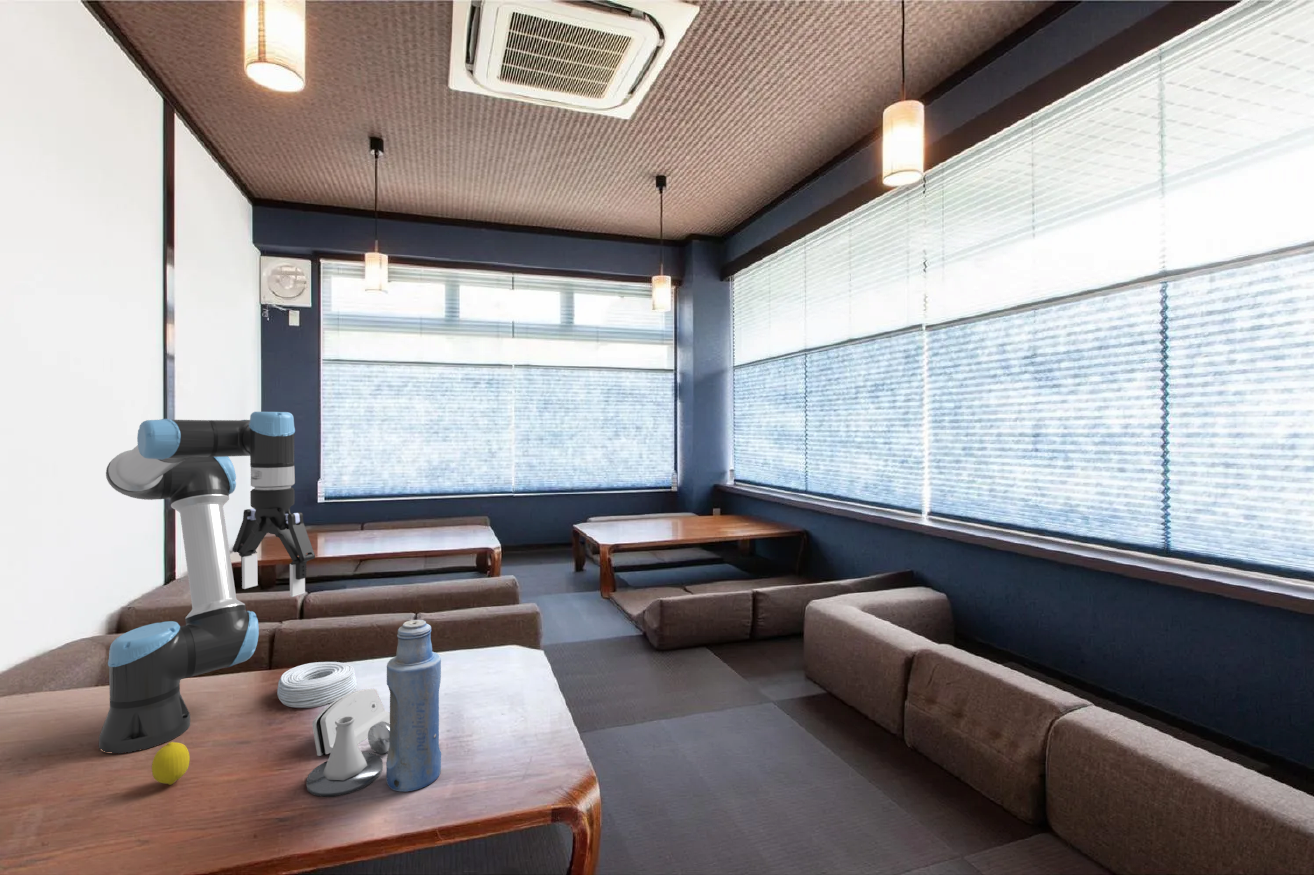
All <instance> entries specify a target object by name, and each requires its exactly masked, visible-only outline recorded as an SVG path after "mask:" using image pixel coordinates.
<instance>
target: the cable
mask: <svg viewBox="0 0 1314 875" xmlns="http://www.w3.org/2000/svg"><path fill="white" fill-rule="evenodd" d="M357 683H358V680H357V677H356V673H355V668H354V666H353V665H351V664H349V663H344V662H339V661H338V662H337V661H318V662H317V661H316V662H309V663H304V664H301V665H297V666H295V667H292V668H289V669H288V670H286V671H285V672H284V673H282V675H281V676H280V678H279V680H278V682H277V684H278V685H277V689H276V691H277V693H276V694H277V697H278V699H279V701H280V702H281V703H282V704H283V705H284V706H287V707H290V708H300V709H301V708H302V709H307V708H308V709H309V708H310V709H311V708H317V707H321V706H325V705H327V704H331V703H333V702H334V701H336V700H337V699H339V698H341V697H343V696H345V695H347V694H349V693H352V692H355V690H356V688H357Z"/></svg>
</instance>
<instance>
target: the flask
mask: <svg viewBox="0 0 1314 875" xmlns="http://www.w3.org/2000/svg"><path fill="white" fill-rule="evenodd" d="M354 720H355V718H354V717H353V716H344V717H341V718H339V719H337V720H336V721H335V724H336V725H337V733H336V738H335V743H334V745H333V748H332V751H331V753H329V757H328V760H327V761H328V762H327V764H326V767H325V769H324V772H323V775H324V776H325V777H326V778H327V779H328V780H345V779H348V778H350V777H352V776H355V775H357V774H359V773H360V772H361V771H362V770H363V769H364V768H365V767H366V766H367V763H366V761H365V758H364V756H363V754H362V750H361V748H360V746H359V744H358V743H357V741H356V739H355V735H354V730H353V722H354Z"/></svg>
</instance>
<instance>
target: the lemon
mask: <svg viewBox="0 0 1314 875" xmlns="http://www.w3.org/2000/svg"><path fill="white" fill-rule="evenodd" d="M190 756H191V755H190V752H189V749H188V747H187V746H186V745H185V744H183V743H181V742H175V741H168V743H167V744H165V745H164V746H162V747H161V748H160V749H159V750H157V751H156V754H155V755H154V757H153V760H152V763H151V772H152V776H153V777H152V778H153V779H155V781H157V782H158V783H159V784H167V785H169V786H171V785H173V784H175V782H176V781H177V780H179V779H181V778H182V777H183V776H184V775H185V773H186V772H187V771H188V768H189V766H190V761H191V760H190V759H191V757H190Z"/></svg>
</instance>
